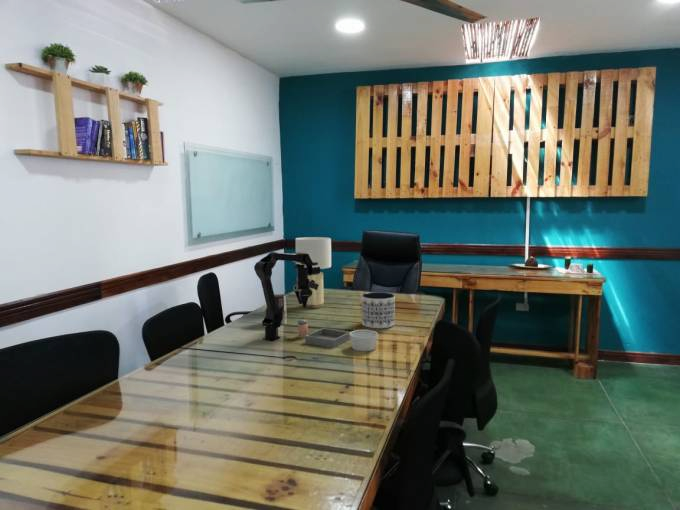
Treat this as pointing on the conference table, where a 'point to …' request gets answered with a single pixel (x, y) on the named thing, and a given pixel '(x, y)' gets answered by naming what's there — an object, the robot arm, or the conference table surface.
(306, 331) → the shaker
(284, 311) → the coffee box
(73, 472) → the conference table surface
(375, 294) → the planter
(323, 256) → the lamp
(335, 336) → the tray
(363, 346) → the ramekin
